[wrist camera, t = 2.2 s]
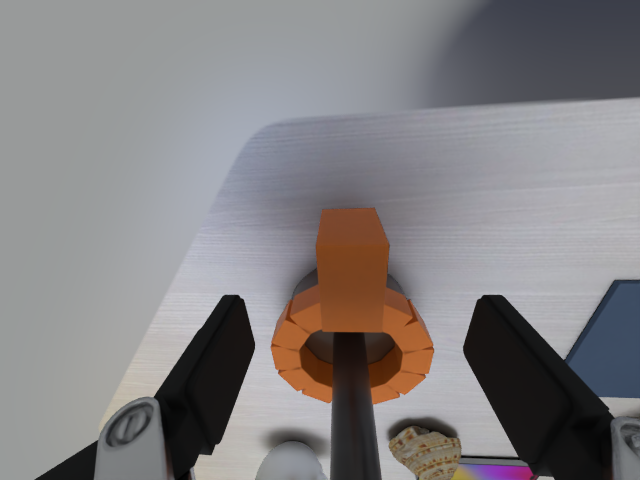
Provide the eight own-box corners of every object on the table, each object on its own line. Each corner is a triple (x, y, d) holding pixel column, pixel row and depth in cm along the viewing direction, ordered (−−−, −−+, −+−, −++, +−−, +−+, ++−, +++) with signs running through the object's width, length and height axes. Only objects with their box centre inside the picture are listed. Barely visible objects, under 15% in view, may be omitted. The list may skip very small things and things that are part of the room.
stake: (284, 262, 19) (186, 529, 7) (412, 260, 18) (568, 562, 6) (297, 346, 24) (252, 598, 11) (400, 348, 23) (473, 623, 10)
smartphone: (420, 461, 31) (546, 466, 30) (418, 454, 32) (541, 459, 30) (416, 484, 35) (528, 490, 33) (414, 478, 35) (525, 484, 33)
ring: (254, 211, 14) (222, 247, 10) (448, 204, 13) (495, 242, 9) (287, 379, 21) (276, 437, 17) (413, 383, 20) (431, 446, 17)
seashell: (435, 430, 25) (485, 496, 24) (429, 389, 30) (471, 444, 30) (372, 451, 28) (415, 511, 27) (377, 411, 33) (413, 460, 32)
